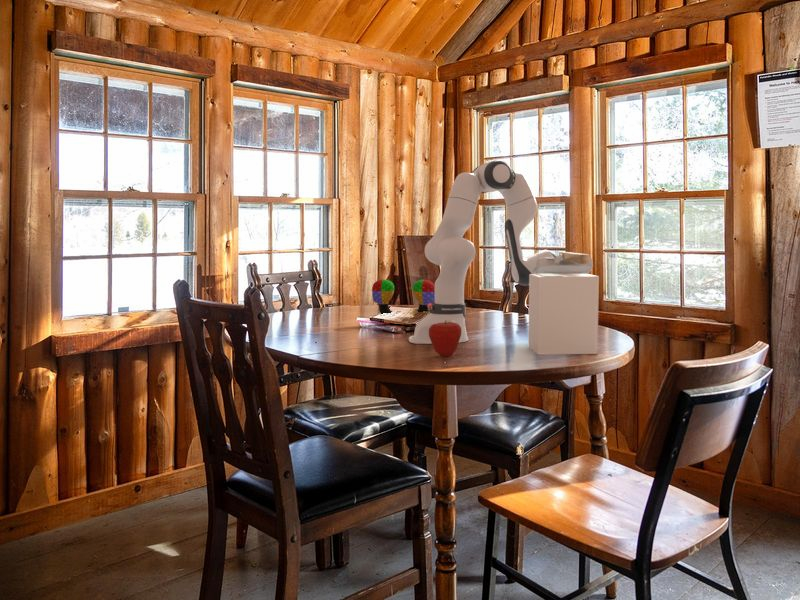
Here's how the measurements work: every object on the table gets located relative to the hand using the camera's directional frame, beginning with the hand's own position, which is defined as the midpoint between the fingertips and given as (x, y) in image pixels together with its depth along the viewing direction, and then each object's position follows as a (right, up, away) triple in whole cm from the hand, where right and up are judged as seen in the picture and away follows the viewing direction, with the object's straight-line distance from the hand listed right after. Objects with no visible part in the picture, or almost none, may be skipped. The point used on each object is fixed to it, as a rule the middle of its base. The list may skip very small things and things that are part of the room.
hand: (569, 255), depth 243 cm
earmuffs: (-58, -27, +60) cm, 88 cm away
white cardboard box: (-4, -33, -7) cm, 34 cm away
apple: (-45, -34, -15) cm, 59 cm away
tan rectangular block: (0, -2, -5) cm, 6 cm away
